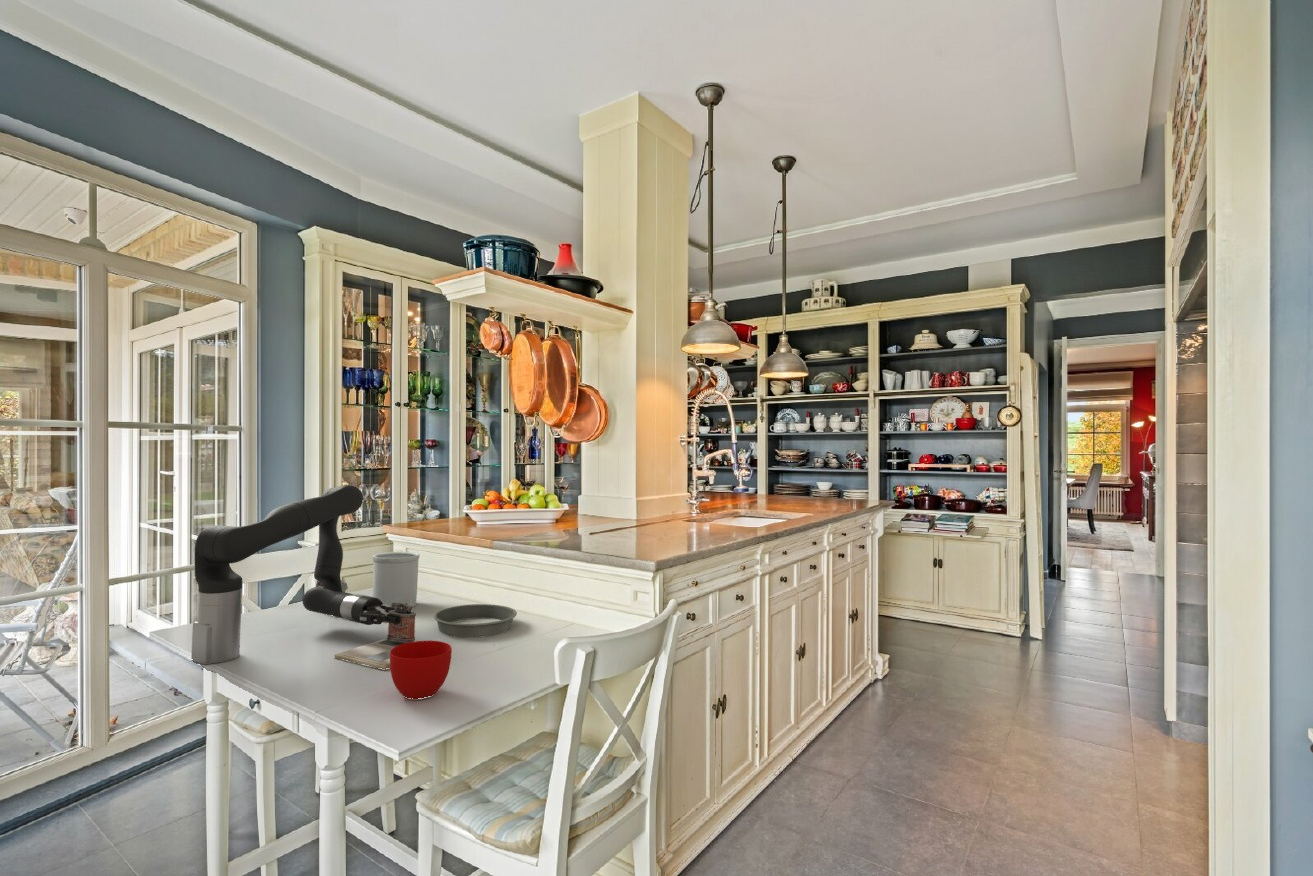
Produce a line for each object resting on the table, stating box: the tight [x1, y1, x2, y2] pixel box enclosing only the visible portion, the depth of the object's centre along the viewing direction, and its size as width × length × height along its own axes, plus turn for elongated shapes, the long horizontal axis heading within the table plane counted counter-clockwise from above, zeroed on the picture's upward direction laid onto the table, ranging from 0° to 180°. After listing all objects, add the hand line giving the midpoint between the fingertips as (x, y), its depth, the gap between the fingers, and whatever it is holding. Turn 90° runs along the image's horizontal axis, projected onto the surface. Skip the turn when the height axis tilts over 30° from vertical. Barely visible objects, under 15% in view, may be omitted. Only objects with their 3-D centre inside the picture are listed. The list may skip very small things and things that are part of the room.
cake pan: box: [433, 603, 518, 638], centre depth 195 cm, size 25×25×4 cm
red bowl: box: [389, 640, 453, 699], centre depth 144 cm, size 13×17×10 cm
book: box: [334, 637, 407, 669], centre depth 168 cm, size 18×18×1 cm
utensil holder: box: [371, 551, 420, 608], centre depth 217 cm, size 15×15×18 cm
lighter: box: [386, 602, 417, 643], centre depth 174 cm, size 8×3×10 cm, turn 74°
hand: (405, 618), depth 173 cm, fingers closed on lighter, 3 cm apart
